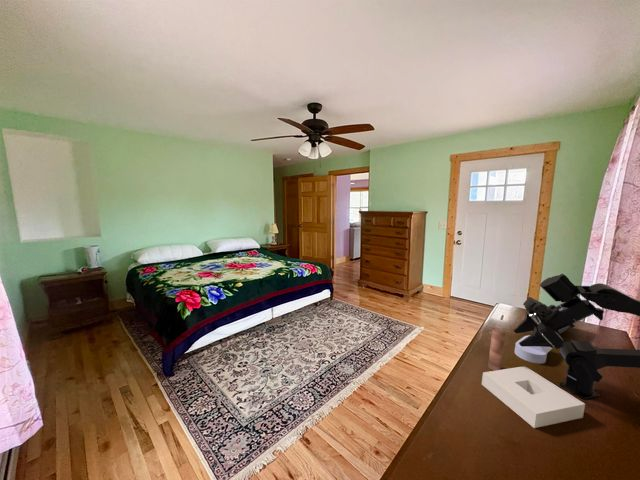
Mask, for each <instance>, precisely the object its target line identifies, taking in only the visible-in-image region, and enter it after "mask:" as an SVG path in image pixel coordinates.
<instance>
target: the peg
mask: <svg viewBox="0 0 640 480" xmlns="http://www.w3.org/2000/svg"><path fill="white" fill-rule="evenodd" d="M505 338H506V332H504V331H503V330H500V329H492V331H491V338H490V339H491V340H490V347H489V354H488V356H489V357H488V363H487V367H488V368H489V369H490V370H492V371H496V370H502V363H503V354H504V347H505Z"/></svg>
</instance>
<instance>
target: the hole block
mask: <svg viewBox="0 0 640 480" xmlns="http://www.w3.org/2000/svg"><path fill="white" fill-rule="evenodd" d="M481 386H483V387H484V388H486V389H487V391H489V392H490V393H491V394H493V395H494V396H495V397H496V398H497V399H499V400H500V401H501V402H503V404H505V406H507V407H508V408H510V409H511V410H512V411H513V412H514V413H516V414H517V415H518V416H519V417H521V419H523V420H524V421H525V422H526V423H527V424H529V425H530V426H531V427H532V428H533V429H536V428H540V427H547V426H549V425H550V426H551V425H555V424H561V423H564V422H568V421H574V420H579V419H583V418H584V413H585V406H586V403H584V402H583V401H582V400H580V399H578V398H576V397H575V396H573V395H572V394H570V393H569V392H567V391H565V390H564V389H562V388H560V387H559V386H557V385H556V384H554V383H553V382H551V381H550V380H548V379H546V378H544V376H541V375H540V374H538V373H537V372H536V371H533V370H532V369H530V368H529V367H527V366H525V365H524V366H518V367H509V368H503V369H501V370H496V371H494V370H492V371H491V370H490V371H485V372H482V378H481Z"/></svg>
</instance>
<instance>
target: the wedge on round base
mask: <svg viewBox="0 0 640 480" xmlns="http://www.w3.org/2000/svg"><path fill="white" fill-rule="evenodd" d="M530 335H531V334H529V335H524V336H523V337H521V338H520V339H519V340H518V341H516V342H515V346H514V354H515V355H516V356H517V357H518V358H520V359H522V360H524V361H526V362H529V363H532V364H540V365H543V364H546V362H547V355H548V353H549V352H550V351H551V350H552V349H553V348H551V347H541V346H523V347H522V346H521V345H520V344H519V343H520V342H521V341H522V340H524V339H525V338H527V337H528V336H530ZM553 347H554V346H553ZM554 348H555V347H554Z"/></svg>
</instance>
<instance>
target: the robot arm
mask: <svg viewBox="0 0 640 480" xmlns="http://www.w3.org/2000/svg"><path fill="white" fill-rule="evenodd" d="M539 287H541V289H542V290H544V292H546V293H547V295H549V296H550V297H551V299H552V300H554V301H555V302H561V303H560V304H559V305H555V304H550V305H547V304H545V303H543V302H541V301H539V300H537V299H535V298H533V297H531V296H528V298H527V299H526V300H525V301H523V303H522V305H523V306H524V308H525V310H526V311H525V317H524V319H523V320H522V321H521V322H520V323H519V325H517V327H515V329H514V330H513V332H514V333H515V334H522V333H527V332H531V331H533V330H534V333H531V334H529V335H530V336H528V335H527V336H528V337H527V338H525V339H524V340H522V341H521V342H520V343H519V344H520V345H521V346H522V347H523V346H541V347H551V348H552V349H554V348H555V349H556V350H558V349H559V353H560V354H561V356H562V358H563V360H564V361H565V363H566V364H567V365H568V368H567V373H566V376H565V381H560V382H558V383H559V385H560V386H561V387H563V388H564V389H566V390H567V391H569V392H571V393H573V394H574V395H576V396H577V397H579V398H581V399H583V400H586V399H591V398H592V399H593V398H597V397H600V393H599V392H597V391H595V390H594V387H595V383H599V382H600V381H602V379H603V375H602V374H601V372H600V371H599V370H601V369H604V368H607V367H612V368H613V367H614V368H629V369H630V368H632V369H640V349H628V348H603V347H602V348H601V347H596V346H594V345H593V344H592V343H591V342H590V341H589V340H573V339H570V341H565V340H564V339H563V338H562V337H561V335H560V332H559V330H561V329H563V328H565V327H567V326H570V327H569V328H571V329H572V328H574V327H575V326H576V325H574V324H575V323H578V322H580V321H581V320H585V319H586V318H589V317H591V316H595V317H596V318H597V319H598V320H600V321H602V320H603V319H604V313H605V311H604V310H603V309H605V310H609V311H613V312H617V313H625V314H630V315H634V316H638V317H640V300H639V299H636V298H633V297H632V296H629V295H627V294H626V293H624V292H622V291H621V290H618V289H616V288H614V287H611V286H610V285H608V284H605V283H599V282H598V283H595V284H592V285H575V284H574V283H573V282H572V281H571V280H570V279H569V277H568V276H567V275H565V274H564V273H560V274H559V275H554V276H551V277H550V276H549V277H547V278H546V279H544V280H543V281H542V282H541V283H540V284H539ZM579 295H580V296H581V297H582V298H584V299H581V298H580V296H579ZM592 302H593V303H594V304H596V305H597V307H596V306H595V305H594V304H592ZM553 346H554V347H553Z"/></svg>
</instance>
